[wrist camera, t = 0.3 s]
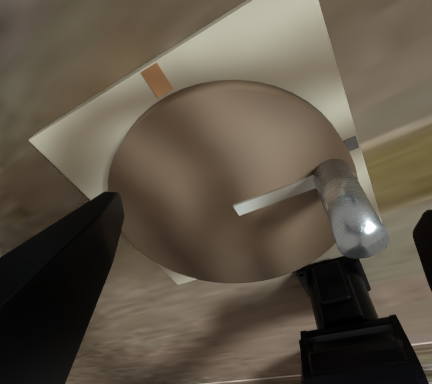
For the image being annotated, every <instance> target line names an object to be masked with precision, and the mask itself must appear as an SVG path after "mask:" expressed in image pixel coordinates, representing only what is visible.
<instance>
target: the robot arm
mask: <svg viewBox="0 0 432 384" xmlns="http://www.w3.org/2000/svg"><path fill="white" fill-rule="evenodd" d="M123 222H124V209H123V205H122V200H121V196H120V194H119V193H118V192H114V191H105V192H103V193H101V194H100V195H98V196H96V197H95V198H93V199H92V200H90V201H89V202H87V203H85V204H84V205H82V206H81V207H79V208H77V209H76V210H74V211H73V212H71V213H70V214H68V215H66V216H65V217H63V218H62V219H60V220H59V221H57V222H55V223H54V224H52V225H51V226H49V227H48V228H46V229H44V230H43V231H41V232H40V233H38V234H37V235H35V236H33V237H32V238H30V239H29V240H27V241H26V242H24V243H22V244H21V245H19V246H18V247H16V248H15V249H13V250H11V251H10V252H8V253H7V254H5V255H3V256H2V257H0V384H65V382H66V380H67V377H68V375H69V372H70V370H71V367H72V365H73V362H74V360H75V357H76V355H77V352H78V350H79V347H80V345H81V342H82V340H83V337H84V334H85V332H86V329H87V327H88V324H89V322H90V319H91V317H92V314H93V312H94V309H95V307H96V304H97V302H98V299H99V297H100V294H101V291H102V289H103V286H104V284H105V281H106V279H107V276H108V274H109V271H110V268H111V266H112V263H113V259H114V256H115V252H116V248H117V244H118V241H119V237H120V233H121V229H122V225H123ZM413 239H414V242H415V245H416V248H417V251H418V254H419V257H420V260H421V263H422V266H423V269H424V273H425V276H426V278H427V281H428V284H429V286H430V289H431V291H432V210H427V211H425V212H424V213H423V215H422V217H421V218H420V220H419V222H418V223H417V225H416V226H415V228H414V230H413ZM296 274H297V277H298V279H299V280H300V282H301V284H302V285H303V287H304V289H305V290H306V292H307V293H308V295H309V297H310V299H311V303H312V308H313V312H314V316H315V321H316V325H317V330H311V331H301V332H300V333H301V340H300V341H299V344H300V350H301V360H302V370H301V384H429V383H428V381H427V378H426V376H425V373H424V371H423V369H422V366H421V364H420V362H419V360H418V358H417V356H416V354H415V352H414V350H413V348H412V346H411V344H410V342H409V340H408V338H407V336H406V334H405V332H404V330H403V328H402V326H401V324H400V322H399V320H398V318H397V316H396V315H390V316H389V317H385V318H378V316H377V313H376V311H375V308H374V306H373V303H372V301H371V298H370V296H369V293H368V291H370V290H371V288H370V286H369V283H368V280H367V278H366V275H365V273H364V270H363V268H362V265H361V263H360V260H359V259H354V258H349V257H343V258H339V259H336V260H332V261H328V262H325V263H321V264H318V265H314V266H310V267H307V268H303V269H299V270H297V271H296Z"/></svg>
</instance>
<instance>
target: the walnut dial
mask: <svg viewBox="0 0 432 384" xmlns="http://www.w3.org/2000/svg"><path fill="white" fill-rule="evenodd" d="M108 191H114V192H118V193H119V194H120V196H121V200H122V205H123V209H124V222H123V225H122V229H121V231H122V232H123V233H124V235H125V236H126V237H127V239H128V240H129V241H130V242H131V243H132V244H133V245H134V246H135V247H136V248H137V249H138V250H139V251H140V252H142V253H143V254H144V255H145V256H147V257H148V258H150V259H151V260H153V261H154V262H156V263H157V264H159V265H161V266H163V267H165V268H167V269H169V270H171V271H174V272H176V273H179V274H182V275H184V276H187V277H191V278H195V279H199V280H204V281H210V282H219V283H249V282H257V281H264V280H268V279H272V278H276V277H280V276H283V275H286V274H289V273H291V272H293V271H296V270H298V269H300V268H302V267H304V266H306V265H308V264H310V263H311V262H313V261H314V260H316V259H317V258H319V257H320V256H322V255H323V254H324V253H325V252H326V251H328V250H329V249H330V248H331V247H332V246H333V245H334V244H335V243H336V244H337V247H338V249H339V251H340V253H341V254H342V255H344V256H346V257H349V258H354V259H360V258H367V257H370V256H373V255H375V254H377V253H379V252H381V251H382V250H383V249H384V248H385V247H386V246H387V244H388V242H389V235H388V233H387V231H386V229H385V228H384V226H383V224H382V222H381V220H380V219H379V217H378V215H377V213H376V212H375V210H374V208H373V206H372V204H371V203H370V201H369V199H368V197H367V196H366V194H365V192H364V190H363V189H362V187H361V185H360V183H359V181H358V177H357V172H356V168H355V164H354V162H353V159H352V157H351V155H350V152H349V150H348V149H347V147H346V145H345V144H344V142H343V140H342V139H341V137H340V136H339V134H338V132H337V131H336V129H335V128H334V126H333V125H332V123H331V122H330V121H329V120H328V119H327V118H326V117H325V116H324V115H323V113H322V112H320V111H319V110H318V109H317V108H315V107H314V106H313V105H312V104H310V103H309V102H308V101H306V100H304V99H303V98H301V97H299V96H297V95H296V94H294V93H292V92H289V91H287V90H284V89H282V88H279V87H277V86H273V85H269V84H265V83H261V82H256V81H246V80H217V81H211V82H205V83H199V84H196V85H193V86H190V87H187V88H183V89H181V90H178V91H176V92H174V93H172V94H170V95H168V96H166V97H164V98H163V99H161V100H160V101H158V102H157V103H155V104H154V105H152V106H151V107H150V108H149V109H148V110H147V111H145V112H144V113H143V114H142V115H141V116H140V117H139V118H138V119H137V121H136V122H135V123H134V124H133V126H132V127H131V128H130V130H129V131H128V133H127V135H126V136H125V138H124V140H123V141H122V143H121V145H120V147H119V148H118V150H117V152H116V154H115V155H114V158H113V161H112V164H111V167H110V171H109V177H108Z"/></svg>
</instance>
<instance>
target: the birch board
mask: <svg viewBox="0 0 432 384" xmlns="http://www.w3.org/2000/svg"><path fill="white" fill-rule="evenodd" d="M217 80H246V81H256V82H261V83H265V84H269V85H273V86H277V87H279V88H282V89H284V90H287V91H289V92H292V93H294V94H296V95H297V96H299V97H301V98H303V99H304V100H306V101H308V102H309V103H310V104H312V105H313V106H314V107H315V108H317V109H318V110H319V111H320V112H322V113H323V115H324V116H325V117H326V118H327V119H328V120H329V121H330V122H331V123H332V125H333V126H334V128H335V129H336V131H337V132H338V134H339V136H340V137H341V139H342V140H343V142H344V144H345V145H346V147H347V149H348V150H349V152H350V155H351V157H352V159H353V162H354V164H355V168H356V172H357V177H358V181H359V183H360V185H361V187H362V189H363V190H364V192H365V194H366V196H367V197H368V199H369V201H370V203H371V204H372V206H373V208H374V210H375V212H376V213H377V215H378V217H379V219H380V220H381V217H380V214H379V210H378V207H377V203H376V200H375V196H374V193H373V189H372V186H371V182H370V179H369V175H368V172H367V168H366V165H365V161H364V158H363V154H362V151H361V147H360V144H359V140H358V137H357V133H356V130H355V126H354V123H353V119H352V116H351V112H350V109H349V105H348V102H347V98H346V95H345V92H344V88H343V85H342V81H341V78H340V74H339V71H338V67H337V64H336V60H335V57H334V53H333V50H332V46H331V43H330V39H329V36H328V32H327V29H326V25H325V22H324V18H323V15H322V11H321V8H320V4H319V1H318V0H246V1H245V2H243V3H242V4H240V5H238V6H237V7H235V8H234V9H232V10H230V11H229V12H227V13H226V14H224V15H223V16H221V17H219V18H218V19H216V20H215V21H213V22H211V23H210V24H208V25H207V26H205V27H203V28H202V29H200V30H199V31H197V32H195V33H194V34H192V35H191V36H189V37H187V38H186V39H184V40H183V41H181V42H180V43H178V44H176V45H175V46H173V47H172V48H170V49H168V50H167V51H165V52H164V53H162V54H160V55H159V56H157V57H156V58H154V59H152V60H151V61H149V62H148V63H146V64H145V65H143V66H141V67H140V68H138V69H137V70H135V71H133V72H132V73H130V74H129V75H127V76H125V77H124V78H122V79H121V80H119V81H117V82H116V83H114V84H113V85H111V86H109V87H108V88H106V89H105V90H103V91H102V92H100V93H98V94H97V95H95V96H94V97H92V98H90V99H89V100H87V101H86V102H84V103H82V104H81V105H79V106H78V107H76V108H74V109H73V110H71V111H70V112H68V113H67V114H65V115H63V116H62V117H60V118H59V119H57V120H55V121H54V122H52V123H51V124H49V125H47V126H46V127H44V128H43V129H41V130H39V131H38V132H37V133H36V134H35V135H34V136H33V137H31V138H30V139H29V141H30V142H31V143H32V144H33V145H34V146H35V147H36V148H37V149H38V150H39V151H40V152H41V153H42V154H43V155H44V156H45V157H46V158H47V159H48V160H49V161H51V162H52V163H53V164H54V165H55V166H56V167H57V168H58V169H59V170H60V171H61V172H62V173H63V174H64V175H65V176H66V177H67V178H68V179H69V180H70V181H71V182H72V183H73V184H74V185H75V186H76V187H77V188H78V189H80V190H81V191H82V192H83V193H84V194H85V195H86V196H87V197H88V198H89V199H90V200H92V199H93V198H95V197H96V196H98V195H100V194H101V193H103V192H105V191H108V177H109V171H110V167H111V164H112V161H113V158H114V155H115V154H116V152H117V150H118V148H119V147H120V145H121V143H122V141H123V140H124V138H125V136H126V135H127V133H128V131H129V130H130V128H131V127H132V126H133V124H134V123H135V122H136V121H137V119H138V118H139V117H140V116H141V115H142V114H143V113H144V112H145V111H147V110H148V109H149V108H150V107H151V106H152V105H154V104H155V103H157V102H158V101H160V100H161V99H163V98H164V97H166V96H168V95H170V94H172V93H174V92H176V91H178V90H181V89H183V88H187V87H190V86H193V85H196V84H199V83H205V82H211V81H217ZM381 222H382V221H381ZM155 263H156V262H155ZM156 264H157V263H156ZM157 265H158V266H159V267H160V268H161V269H162V270H164V271H165V272H166V273H167V274H168V275H169V276H170V277H171V278H172V279H173V280H174V281H175V282H176V283H177V284H178V285H180V284H183V283H187V282H190V281H193V280H197V279H195V278H191V277H187V276H184V275H182V274H179V273H176V272H174V271H171V270H169V269H167V268H165V267H163V266H161V265H159V264H157Z"/></svg>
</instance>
